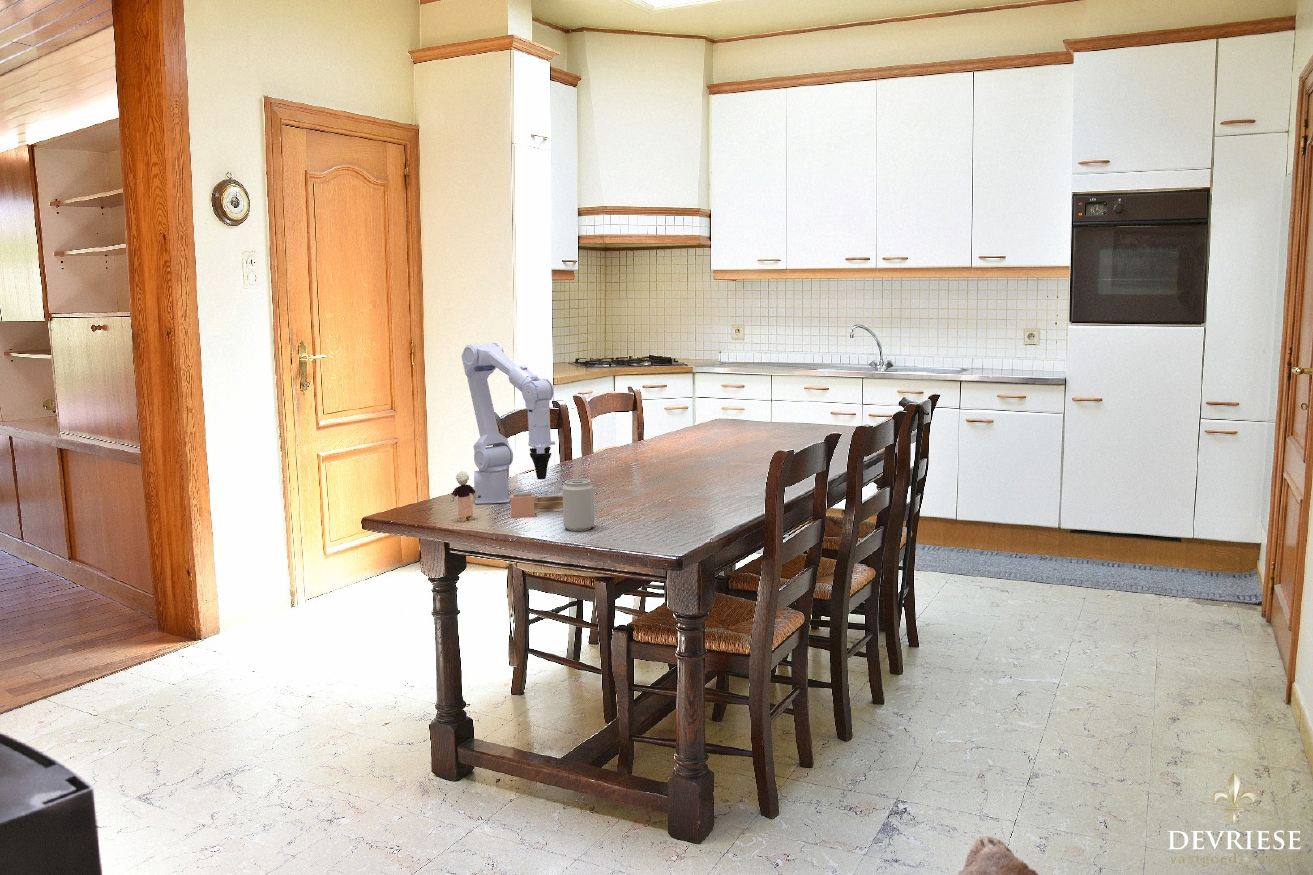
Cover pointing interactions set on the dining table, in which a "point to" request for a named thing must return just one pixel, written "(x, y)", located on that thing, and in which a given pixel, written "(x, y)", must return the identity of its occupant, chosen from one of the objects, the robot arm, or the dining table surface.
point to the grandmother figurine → (464, 497)
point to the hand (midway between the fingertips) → (541, 476)
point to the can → (578, 505)
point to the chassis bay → (548, 503)
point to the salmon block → (522, 505)
